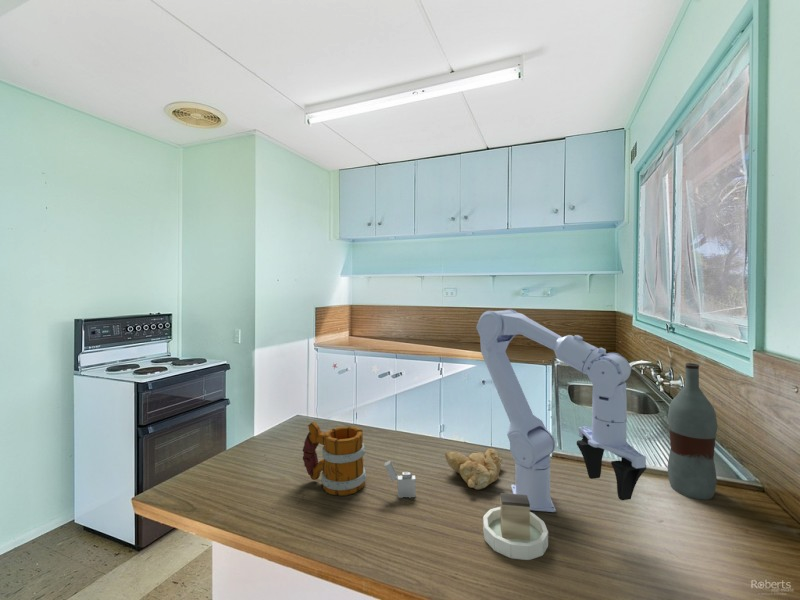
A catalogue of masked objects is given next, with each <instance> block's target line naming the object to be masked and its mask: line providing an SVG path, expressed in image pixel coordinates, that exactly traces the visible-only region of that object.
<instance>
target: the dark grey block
mask: <svg viewBox="0 0 800 600" xmlns="http://www.w3.org/2000/svg"><path fill="white" fill-rule="evenodd" d="M499 495H500V497H499V498H500V502H499V503H500V506H499V507H500V528H501V534H502V538H506V539H516V540H526V541H530V512H531V510H530V503H529V500H528V497H527V495H520V494H513V493H506V492H500V493H499Z"/></svg>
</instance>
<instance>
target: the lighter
mask: <svg viewBox="0 0 800 600" xmlns="http://www.w3.org/2000/svg"><path fill="white" fill-rule="evenodd" d="M384 468H385V470H386V472H387V474H388V476H389V478H390V480H391V482H395V481H396V480H397V498H398V499H403V497H409V498H411V497H415V498H416V489H417V488H416V475H413V474H412V473H411V472H409V471H402V474H401V475H398V473H397V472H396V469H395V467H394V465H393V464H392V461H391V460H388V461H386V462H384ZM409 498H408V499H409Z"/></svg>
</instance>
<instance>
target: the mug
mask: <svg viewBox="0 0 800 600" xmlns="http://www.w3.org/2000/svg"><path fill="white" fill-rule="evenodd" d="M307 427H308V431H309V432H308V433H307V435H306V437H305V440H304V445H303V447H302V452H303V456H302V460H303V465H304V466H303V467H305V470H306V471H307V474H308V476H310V479H311V480H313V481H315V480H318V479H319V478H320V475H321V483H322V489H323V491H325V493H327V494H329V495H333V496H337V495H338V496H339V497H345V496H350V495H353V494H356V493H357V492H359V491H360V490H362V489H363V488H364V486H365V485H366V480H367V473H366V472H367V471H366V468H365V466H364V455H365V454H366V450H365V443H364V442H363V441H364V436H363V435H364V434H363V433H364V432H363V429H362V428H360V427H357V426H338V427H333V428H331V429H329V430H326V431H325V432H322V431H321V430H322V429H321V427H320V426H319V425H318V424H317V423H316V422H315V421H312V422H310V423H309V424H308V425H307ZM319 444H320V445H322V452H321V453H322V455H321V456H322V459H320V461H319V458H318V453H317V450H316V449H317V447H318V446H319Z"/></svg>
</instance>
